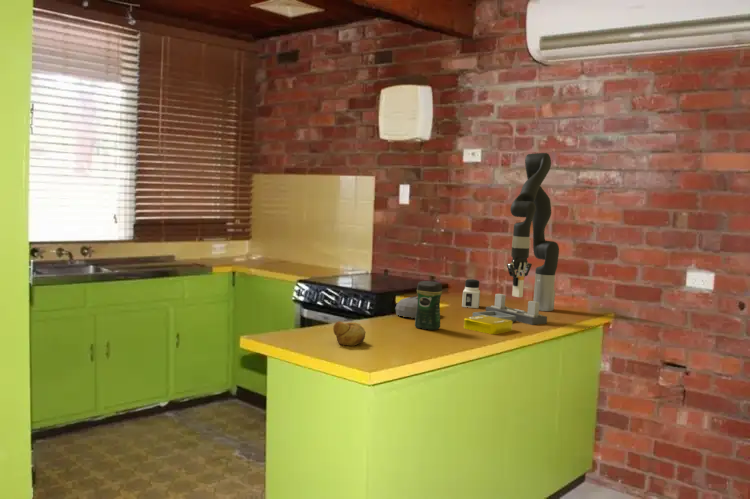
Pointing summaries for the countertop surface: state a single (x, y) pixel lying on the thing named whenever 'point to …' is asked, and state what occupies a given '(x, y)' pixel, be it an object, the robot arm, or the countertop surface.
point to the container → (471, 294)
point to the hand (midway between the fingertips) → (517, 285)
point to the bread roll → (349, 333)
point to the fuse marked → (518, 287)
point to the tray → (496, 315)
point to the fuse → (533, 308)
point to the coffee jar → (428, 305)
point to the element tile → (488, 324)
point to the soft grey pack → (407, 307)
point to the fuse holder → (520, 315)
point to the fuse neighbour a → (500, 300)
